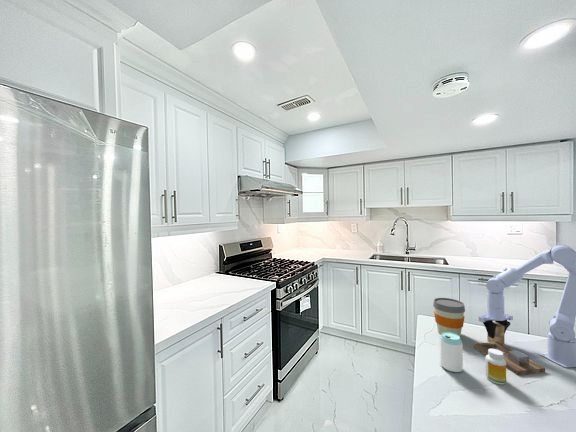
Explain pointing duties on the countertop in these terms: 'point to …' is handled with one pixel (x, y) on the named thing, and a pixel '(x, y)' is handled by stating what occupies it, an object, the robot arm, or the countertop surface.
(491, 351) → the supplement bottle
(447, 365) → the can
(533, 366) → the brown wooden frame
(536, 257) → the robot arm
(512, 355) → the gray cube
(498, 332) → the oak peg
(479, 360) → the countertop surface
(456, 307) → the reusable coffee cup
